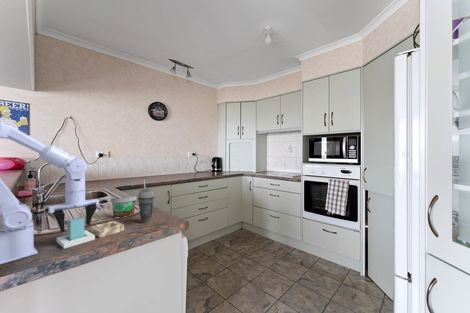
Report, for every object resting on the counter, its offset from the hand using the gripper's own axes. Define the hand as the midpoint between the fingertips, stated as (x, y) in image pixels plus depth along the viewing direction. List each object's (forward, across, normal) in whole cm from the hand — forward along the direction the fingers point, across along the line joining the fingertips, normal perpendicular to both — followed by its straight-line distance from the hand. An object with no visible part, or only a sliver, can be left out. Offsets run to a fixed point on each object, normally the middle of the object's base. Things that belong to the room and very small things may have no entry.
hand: (75, 227), depth 73 cm
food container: (+5, +24, +16) cm, 29 cm away
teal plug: (+5, 0, 0) cm, 5 cm away
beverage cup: (+5, +27, -2) cm, 27 cm away
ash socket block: (+5, +11, 0) cm, 12 cm away
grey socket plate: (+5, 0, 0) cm, 5 cm away
